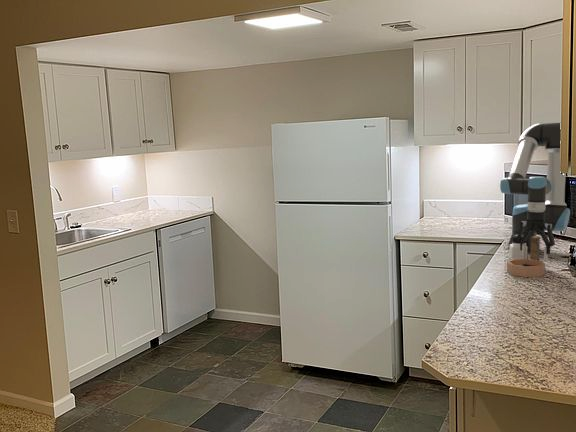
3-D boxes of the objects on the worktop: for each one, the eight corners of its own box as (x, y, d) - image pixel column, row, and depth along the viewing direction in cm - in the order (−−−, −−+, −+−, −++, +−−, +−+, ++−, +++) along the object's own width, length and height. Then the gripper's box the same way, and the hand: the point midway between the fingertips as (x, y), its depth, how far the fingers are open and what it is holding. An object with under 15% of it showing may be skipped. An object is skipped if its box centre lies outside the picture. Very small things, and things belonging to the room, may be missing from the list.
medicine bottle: (527, 261, 281) (528, 237, 279) (511, 261, 282) (512, 237, 280) (524, 258, 287) (525, 234, 286) (509, 258, 289) (509, 234, 287)
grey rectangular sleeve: (523, 267, 267) (523, 263, 266) (535, 269, 263) (535, 265, 262) (516, 271, 262) (516, 266, 261) (528, 272, 258) (528, 268, 258)
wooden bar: (533, 265, 274) (534, 235, 271) (538, 266, 272) (539, 236, 270) (529, 267, 271) (530, 237, 269) (535, 268, 269) (536, 237, 267)
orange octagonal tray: (516, 266, 273) (516, 257, 272) (548, 271, 262) (549, 261, 262) (502, 273, 262) (502, 263, 262) (535, 278, 252) (535, 268, 251)
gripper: (508, 209, 272) (507, 257, 276) (558, 214, 257) (556, 264, 261) (515, 207, 278) (514, 254, 281) (564, 211, 262) (562, 260, 266)
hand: (534, 259), depth 271 cm, fingers open, 9 cm apart
